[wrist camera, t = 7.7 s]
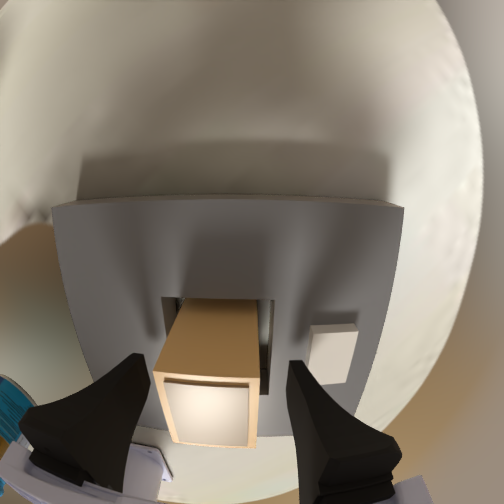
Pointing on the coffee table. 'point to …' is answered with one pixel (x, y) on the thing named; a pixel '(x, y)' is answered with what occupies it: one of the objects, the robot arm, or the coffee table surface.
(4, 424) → the beverage bottle
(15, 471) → the robot arm
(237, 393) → the plug
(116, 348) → the socket plate
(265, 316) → the coffee table surface
